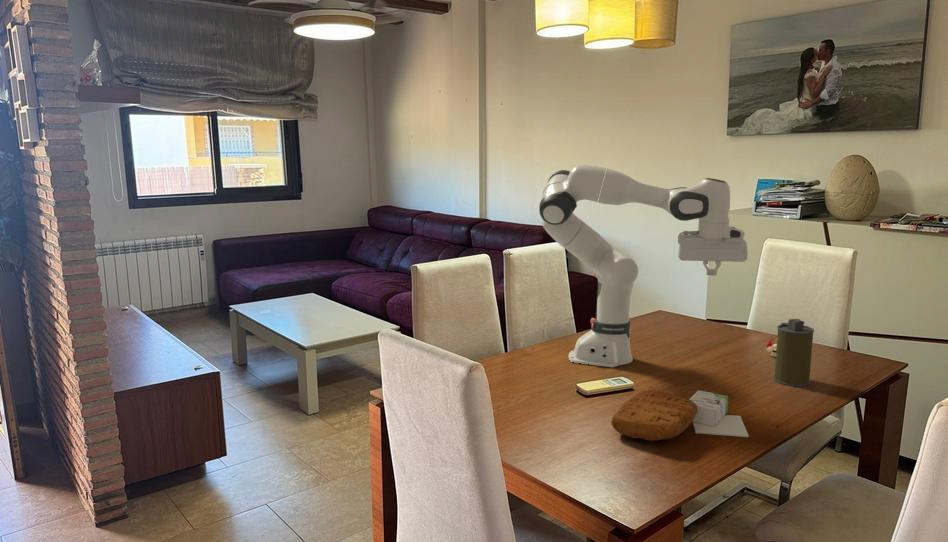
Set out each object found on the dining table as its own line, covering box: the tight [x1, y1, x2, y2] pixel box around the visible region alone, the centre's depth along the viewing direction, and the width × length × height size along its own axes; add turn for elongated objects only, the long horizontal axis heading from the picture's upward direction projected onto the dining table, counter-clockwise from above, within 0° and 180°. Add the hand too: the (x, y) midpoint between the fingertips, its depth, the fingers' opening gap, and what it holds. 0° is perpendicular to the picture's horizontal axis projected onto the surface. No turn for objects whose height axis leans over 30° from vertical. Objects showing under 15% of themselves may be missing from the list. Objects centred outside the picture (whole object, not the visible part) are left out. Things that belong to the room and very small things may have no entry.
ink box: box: [688, 390, 729, 426], centre depth 178 cm, size 8×5×12 cm
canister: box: [773, 318, 815, 387], centre depth 203 cm, size 11×10×20 cm
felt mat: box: [692, 414, 750, 438], centre depth 173 cm, size 13×13×1 cm
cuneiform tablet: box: [611, 389, 697, 442], centre depth 169 cm, size 22×17×8 cm
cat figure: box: [765, 336, 777, 358], centre depth 235 cm, size 10×9×25 cm
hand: (711, 275), depth 202 cm, fingers closed
